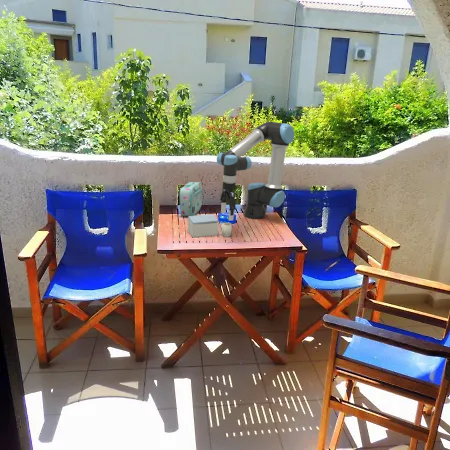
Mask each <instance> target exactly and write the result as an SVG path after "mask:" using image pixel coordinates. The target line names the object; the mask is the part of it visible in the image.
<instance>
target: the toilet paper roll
mask: <svg viewBox="0 0 450 450" xmlns="http://www.w3.org/2000/svg"><path fill="white" fill-rule="evenodd" d="M232 229H233V224H232V223H230V222H223V223H221V234H220V235H221V236H222V237H225V238H230V237H232Z"/></svg>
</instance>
